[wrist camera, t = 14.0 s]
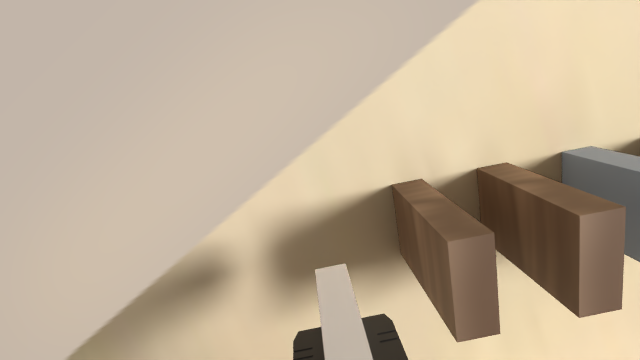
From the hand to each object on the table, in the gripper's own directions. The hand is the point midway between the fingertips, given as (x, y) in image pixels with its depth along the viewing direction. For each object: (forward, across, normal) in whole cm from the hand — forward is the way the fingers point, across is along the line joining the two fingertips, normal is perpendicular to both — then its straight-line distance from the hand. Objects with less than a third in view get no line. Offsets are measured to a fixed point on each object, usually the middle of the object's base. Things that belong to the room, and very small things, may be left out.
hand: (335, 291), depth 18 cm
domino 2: (+7, -12, 0) cm, 14 cm away
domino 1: (+7, -6, 0) cm, 9 cm away
